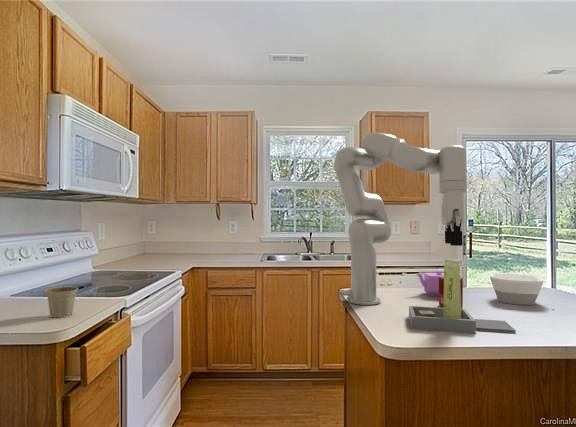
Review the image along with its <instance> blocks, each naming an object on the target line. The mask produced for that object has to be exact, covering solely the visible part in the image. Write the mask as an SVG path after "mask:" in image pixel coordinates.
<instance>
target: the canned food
mask: <svg viewBox="0 0 576 427" xmlns="http://www.w3.org/2000/svg"><path fill="white" fill-rule="evenodd" d="M463 286H464V281H463V276H461V275H460V291H461V309H463V302H464V301H463V300H464V298H463V296H464V295H463V294H464V292H463V290H464V288H463ZM438 305H439V306H438V307H439V308H444V275H440V276H439V295H438Z"/></svg>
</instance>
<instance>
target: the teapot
mask: <svg viewBox="0 0 576 427" xmlns="http://www.w3.org/2000/svg"><path fill="white" fill-rule="evenodd" d="M414 274H415V275H417V276H418V278H419V281H420V284H421V285H422V286H423V287H424V288H423V289H424V292H425V293H426V294H427V295H428V296H431V297H433V298H434V297H435V298H437V297H438V296H439V276H440V275H444V272H443V270H435V272H424V274H423V275H424V276H423V275H422V274H421V273H417V272H415V273H414Z"/></svg>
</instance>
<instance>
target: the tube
mask: <svg viewBox="0 0 576 427" xmlns="http://www.w3.org/2000/svg"><path fill="white" fill-rule="evenodd" d="M443 265H444V268H443V273H444V318H453V319H461V309H462V308H461V291H460V276H461V271H460V262H459V261H455V260H451V259H450V260H449V259H444V264H443Z"/></svg>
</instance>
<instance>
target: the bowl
mask: <svg viewBox="0 0 576 427" xmlns="http://www.w3.org/2000/svg"><path fill="white" fill-rule="evenodd" d="M489 279H490V282H491V285H492V287H493V289H494V290H493V291H494V292H495V295H496V298H497V300H498V301H499V302H501V303H503V304H509V305H518V306H519V305H521V306H533V305H535V303H536V300H537V299H538V296H539V294H540V291H541V289H542V286H543V284H544V280H543V278H541V277H539V276H535V275H530V274H529V275H528V274H519V273H517V274H514V273H492V274H491V275H490V277H489Z"/></svg>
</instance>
